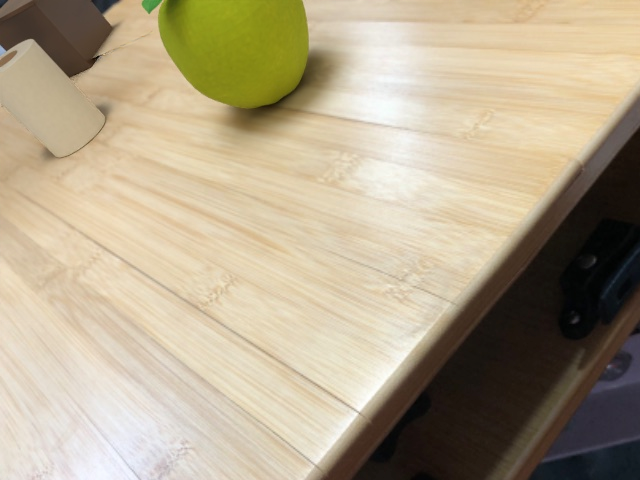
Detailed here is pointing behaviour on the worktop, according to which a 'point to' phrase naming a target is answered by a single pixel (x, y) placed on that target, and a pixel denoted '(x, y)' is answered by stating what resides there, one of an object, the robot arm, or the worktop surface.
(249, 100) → the fruit
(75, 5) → the walnut box
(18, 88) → the towel roll
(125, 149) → the worktop surface
